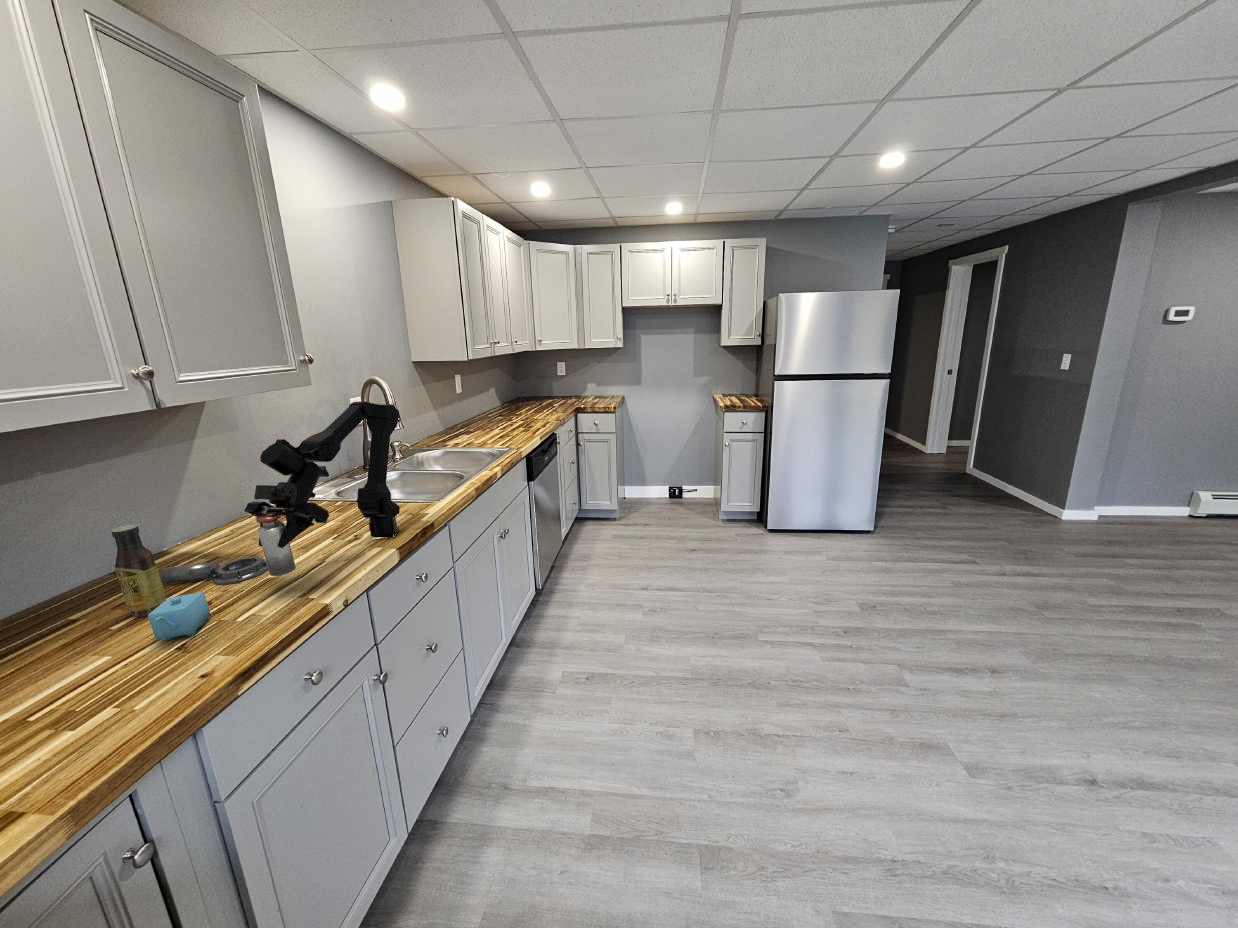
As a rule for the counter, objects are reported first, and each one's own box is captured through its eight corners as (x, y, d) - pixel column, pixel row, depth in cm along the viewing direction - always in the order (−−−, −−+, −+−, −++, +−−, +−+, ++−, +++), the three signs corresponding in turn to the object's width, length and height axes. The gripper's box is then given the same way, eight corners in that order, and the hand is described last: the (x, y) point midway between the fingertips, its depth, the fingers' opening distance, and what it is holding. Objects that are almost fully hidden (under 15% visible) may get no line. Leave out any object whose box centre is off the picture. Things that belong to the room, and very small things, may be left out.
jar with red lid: (283, 565, 114) (269, 511, 111) (301, 566, 113) (287, 512, 110) (264, 575, 110) (248, 519, 106) (282, 576, 109) (267, 520, 105)
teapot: (184, 647, 93) (173, 612, 91) (146, 654, 92) (134, 619, 90) (215, 615, 104) (206, 583, 102) (182, 621, 103) (171, 589, 101)
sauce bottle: (123, 616, 106) (93, 532, 101) (157, 602, 112) (130, 521, 107) (143, 620, 104) (113, 534, 99) (176, 604, 110) (149, 523, 105)
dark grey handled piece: (279, 560, 131) (275, 546, 130) (256, 580, 119) (252, 565, 118) (183, 572, 127) (179, 558, 126) (150, 594, 115) (145, 579, 114)
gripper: (241, 468, 111) (205, 531, 104) (307, 468, 107) (274, 535, 99) (280, 490, 121) (249, 549, 113) (342, 491, 116) (314, 553, 109)
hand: (270, 546), depth 108 cm, fingers closed on jar with red lid, 5 cm apart
